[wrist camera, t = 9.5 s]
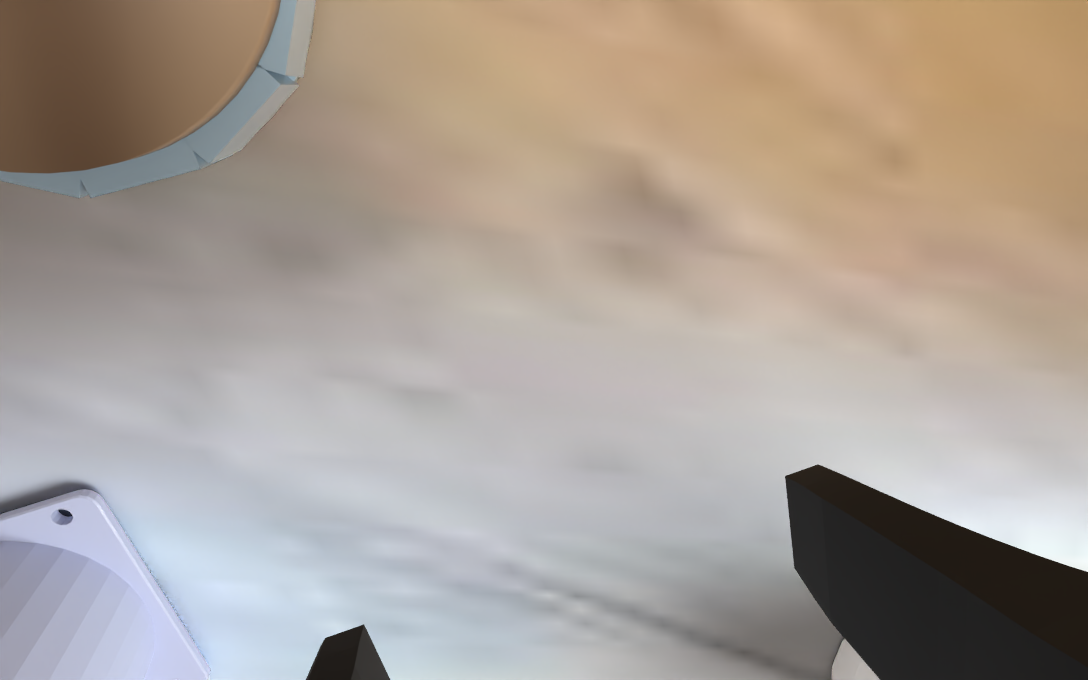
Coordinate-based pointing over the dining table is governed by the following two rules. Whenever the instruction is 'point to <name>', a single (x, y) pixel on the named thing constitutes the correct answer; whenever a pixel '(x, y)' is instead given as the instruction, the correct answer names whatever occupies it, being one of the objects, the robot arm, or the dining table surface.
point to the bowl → (216, 136)
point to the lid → (119, 75)
